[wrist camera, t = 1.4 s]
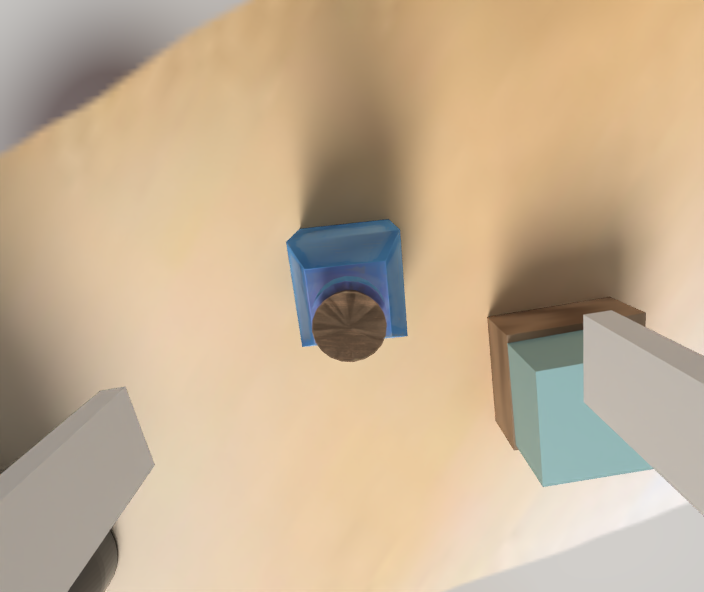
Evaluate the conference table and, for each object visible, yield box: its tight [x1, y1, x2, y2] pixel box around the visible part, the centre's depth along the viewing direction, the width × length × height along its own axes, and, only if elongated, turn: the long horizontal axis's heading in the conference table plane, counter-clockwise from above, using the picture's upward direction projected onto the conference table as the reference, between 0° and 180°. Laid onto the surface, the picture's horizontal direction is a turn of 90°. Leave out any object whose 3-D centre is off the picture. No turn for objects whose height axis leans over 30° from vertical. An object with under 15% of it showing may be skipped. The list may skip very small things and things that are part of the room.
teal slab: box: [507, 330, 654, 487], centre depth 25 cm, size 8×8×4 cm
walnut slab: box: [487, 297, 646, 450], centre depth 29 cm, size 9×9×4 cm
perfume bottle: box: [286, 219, 408, 362], centre depth 22 cm, size 6×6×12 cm
